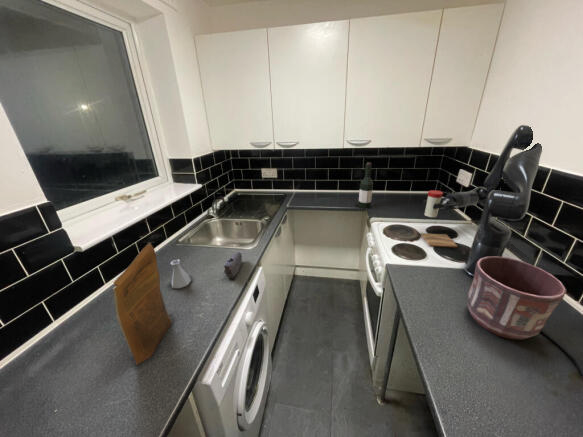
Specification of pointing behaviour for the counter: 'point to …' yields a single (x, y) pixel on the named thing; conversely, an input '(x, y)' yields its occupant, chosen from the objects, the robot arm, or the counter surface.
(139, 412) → the counter surface
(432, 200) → the jam jar
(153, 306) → the pancake mix bag
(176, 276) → the flask
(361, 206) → the wine bottle
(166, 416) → the counter surface
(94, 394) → the counter surface
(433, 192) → the jam lid
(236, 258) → the perforated stone tool
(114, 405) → the counter surface
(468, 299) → the pottery
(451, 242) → the wooden trivet
